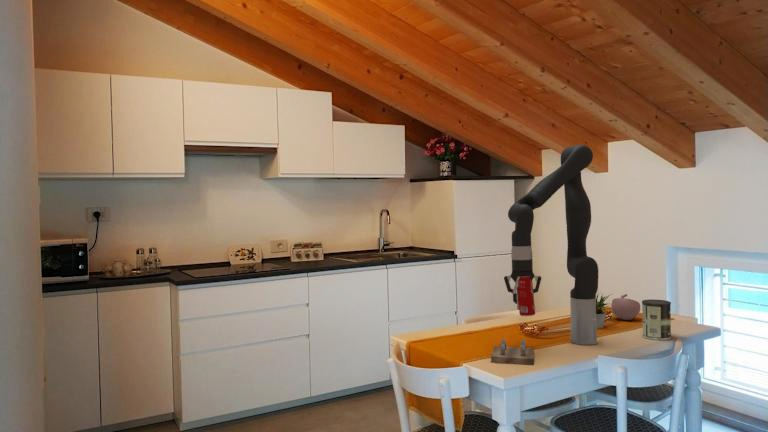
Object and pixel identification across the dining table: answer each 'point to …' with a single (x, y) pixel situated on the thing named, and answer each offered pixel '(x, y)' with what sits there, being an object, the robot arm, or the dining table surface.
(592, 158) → the robot arm
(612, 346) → the dining table surface
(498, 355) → the peg board
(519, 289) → the beverage can
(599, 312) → the house plant
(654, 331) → the coffee can
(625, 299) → the pink apple
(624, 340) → the dining table surface
